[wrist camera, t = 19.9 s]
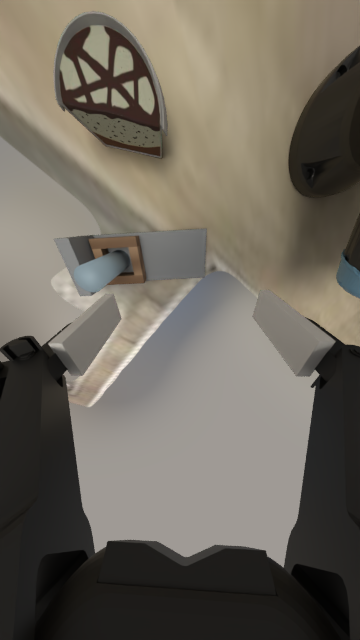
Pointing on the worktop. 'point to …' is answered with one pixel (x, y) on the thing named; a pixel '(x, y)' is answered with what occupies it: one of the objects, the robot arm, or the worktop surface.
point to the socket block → (135, 251)
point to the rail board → (146, 254)
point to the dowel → (101, 270)
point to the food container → (110, 84)
